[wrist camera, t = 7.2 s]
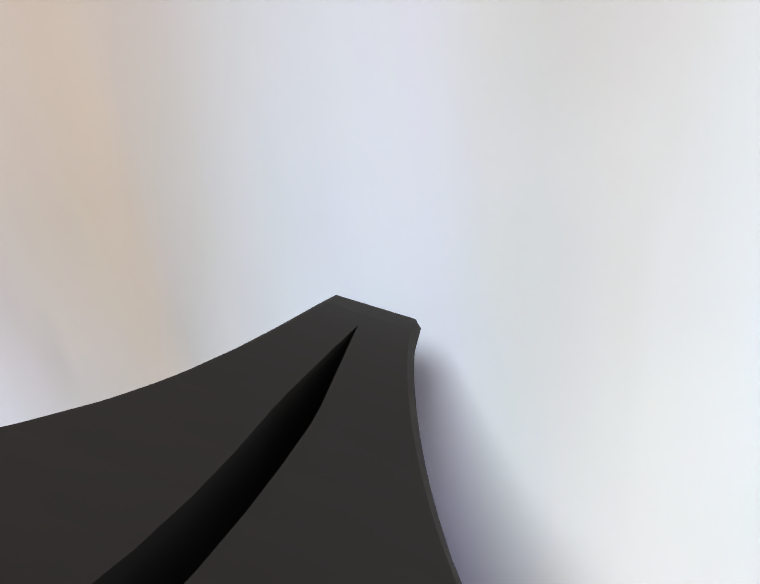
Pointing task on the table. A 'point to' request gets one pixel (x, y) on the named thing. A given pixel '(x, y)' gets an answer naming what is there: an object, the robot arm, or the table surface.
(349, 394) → the robot arm
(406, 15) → the table surface
